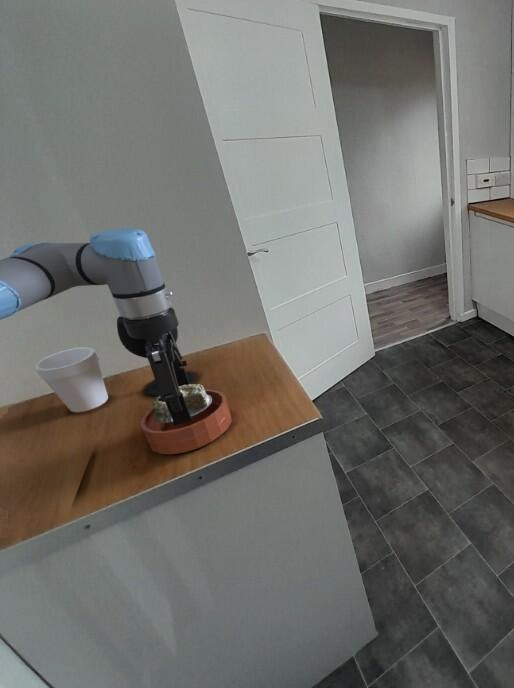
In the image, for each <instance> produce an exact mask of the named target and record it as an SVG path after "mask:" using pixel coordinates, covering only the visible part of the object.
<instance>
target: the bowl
mask: <svg viewBox="0 0 514 688" xmlns="http://www.w3.org/2000/svg"><path fill="white" fill-rule="evenodd" d="M205 392H206V394H207V395H209V396H211V397H212V402H211V404H210V405H209V406H208V407H207V408H206V409H204V410H203V411H201V412H199V413H198V414H196V415H194V416H192V417H191V418H192V421H189V422H185V423H182V424H179V425H174V422H169V423H161V422H157V421H156V420H154V419H153V418H154V417H153V416H154V413H153V407H152V408H151V409H149V410H148V411H147V412H146V413H145V415H143V417H142V418H141V422H140V427H141V430H142V432H143V434H144V436H145V438H146V441H147V443H148V446H149V447H150V449H151V451H153V452H154V453H157V454H160V455H177V454H184V453H187V452H191V451H194V450H197V449H199V448H201V447H204V446H206V445H208V444H210V443H212V442H213V441H215V440H216V439H218V438H219V437H220V436H222V435H223V434H224V433H225V432H226V431H227V430H228V428H229V427H230V426H231V423H232V421H233V420H232V419H233V418H232V413H231V409H230V406H229V404H228V400H227V398H226V395H225V394H224V393H223V392H221V391H219V390H215V389H205Z"/></svg>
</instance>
